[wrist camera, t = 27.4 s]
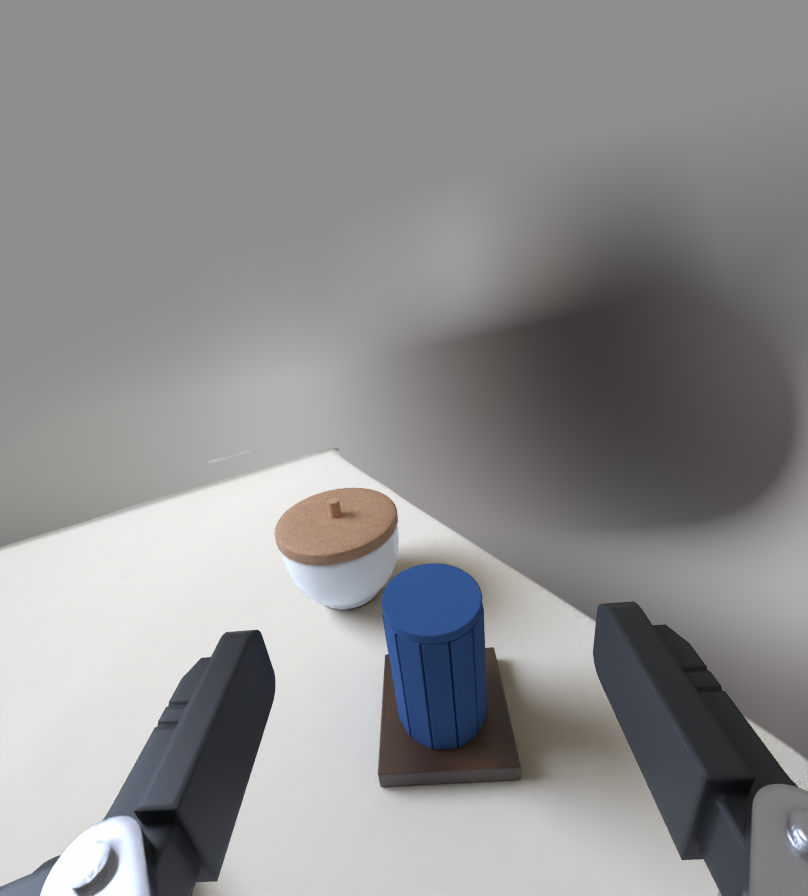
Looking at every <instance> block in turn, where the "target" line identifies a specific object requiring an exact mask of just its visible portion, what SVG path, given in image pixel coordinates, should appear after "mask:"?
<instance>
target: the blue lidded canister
mask: <svg viewBox="0 0 808 896" xmlns="http://www.w3.org/2000/svg"><path fill="white" fill-rule="evenodd" d="M382 609H383V622H384V629H385V635H386V641H387V647H388V653H389V659H390V665H391V671H392V677H393V683H394V689H395V696H396V702H397V708H398V714H399V718H400V720H401V722H402V724H403V726H404V727H405V729H406V731H407V732H408V734H409V736H412V739H413V740H415V741H417V742H419V743H421V744H423V745H424V746H426V747H428V748H430V749H432V748H433V746H434V750H443V749H457V744H458V746H459V747H461V746H463V745H464V744H465V743H467V742H468V741H470V740H471V739H472V738H474V737H475V736H477V732H480V730H481V727H482V725H483V722H484V720H485V717H486V715H487V686H486V660H485V634H484V609H483V605H482V594H481V590H480V587H479V586H478V584H477V582H476V581H475V580H474V579H473V578H472V577H471V576H470V575H469V574H468V573H466V572H465V571H463V570H461V569H459V568H457V567H454V566H450V565H446V564H423V565H418V566H415V567H412V568H409V569H407V570H405V571H403V572H401V573H400V574H398V575H397V576H395V577H394V578H393V579H392V580H391V581H390V582H389V584H388V585H387V586H386V588H385V590H384V593H383V596H382Z"/></svg>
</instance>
